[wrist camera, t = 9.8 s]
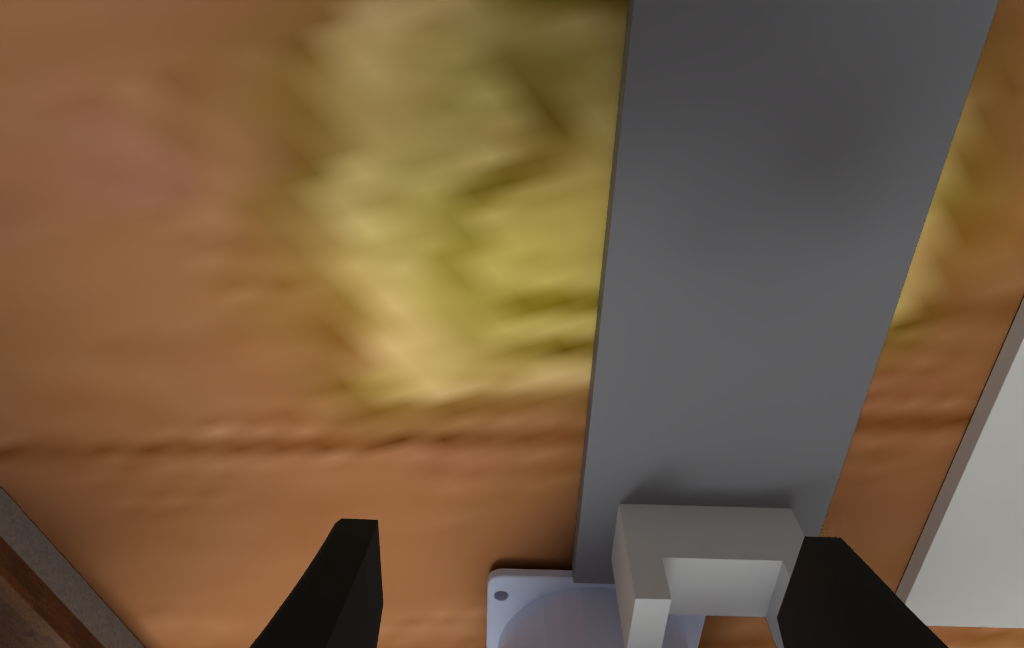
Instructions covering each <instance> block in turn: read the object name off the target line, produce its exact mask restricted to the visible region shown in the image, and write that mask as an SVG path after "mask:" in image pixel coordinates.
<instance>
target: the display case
mask: <svg viewBox="0 0 1024 648" xmlns="http://www.w3.org/2000/svg"><path fill="white" fill-rule="evenodd" d="M0 648H145V647H144V646H143V645H142V644H141V643H140V642H139V641H138V640H137V638H136V637H135V636H134V635H133V634H132V633H131V632H130V631H129V629H128V628H127V627H126V626H125V625H124V624H123V623H122V622H121V621H120V619H119V618H118V617H117V616H116V615H115V614H114V613H113V612H112V610H111V609H110V608H109V607H108V606H107V605H106V604H105V603H104V601H103V600H102V599H101V598H100V597H99V596H98V595H97V594H96V593H95V591H94V590H93V589H92V588H91V587H90V586H89V585H88V584H87V582H86V581H85V580H84V579H83V578H82V577H81V576H80V575H79V574H78V572H77V571H76V570H75V569H74V568H73V567H72V566H71V565H70V563H69V562H68V561H67V560H66V559H65V558H64V557H63V556H62V555H61V553H60V552H59V551H58V550H57V549H56V548H55V547H54V546H53V544H52V543H51V542H50V541H49V540H48V539H47V538H46V537H45V535H44V534H43V533H42V532H41V531H40V530H39V529H38V528H37V527H36V525H35V524H34V523H33V522H32V521H31V520H30V519H29V518H28V516H27V515H26V514H25V513H24V512H23V511H22V510H21V509H20V508H19V506H18V505H17V504H16V503H15V502H14V501H13V500H12V499H11V497H10V496H9V495H8V494H7V493H6V492H5V491H4V490H3V489H2V488H0Z"/></svg>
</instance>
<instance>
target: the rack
mask: <svg viewBox="0 0 1024 648" xmlns="http://www.w3.org/2000/svg"><path fill="white" fill-rule="evenodd" d="M998 2H999V0H629V5H628V15H627V25H626V34H625V44H624V54H623V64H622V74H621V84H620V94H619V104H618V114H617V123H616V133H615V143H614V153H613V163H612V173H611V183H610V193H609V203H608V212H607V222H606V232H605V242H604V252H603V262H602V272H601V282H600V291H599V301H598V311H597V321H596V331H595V341H594V351H593V361H592V371H591V380H590V390H589V400H588V410H587V420H586V430H585V440H584V450H583V460H582V469H581V479H580V489H579V499H578V509H577V519H576V529H575V539H574V549H573V558H572V573H573V583H594V584H615V588H616V594H617V601H618V608H619V615H620V621H621V628H622V635H623V642H624V648H662V643H663V638H664V633H665V628H666V623H667V619H668V615H706V616H744V617H766V620H767V623H768V625H769V628H770V631H771V634H772V636H773V639H774V642H775V645H776V648H784V646H783V642H782V638H781V633H780V629H779V625H778V621H777V615H778V612H779V609H780V607H781V604H782V601H783V598H784V595H785V592H786V589H787V586H788V583H789V580H790V577H791V575H792V572H793V569H794V566H795V563H796V560H797V557H798V554H799V551H800V548H801V546H802V543H803V540H804V537H805V536H808V537H819V535H820V533H821V530H822V527H823V524H824V521H825V518H826V515H827V512H828V509H829V506H830V503H831V500H832V497H833V494H834V491H835V488H836V485H837V482H838V479H839V476H840V473H841V470H842V467H843V464H844V461H845V458H846V455H847V452H848V449H849V446H850V443H851V440H852V437H853V434H854V431H855V428H856V425H857V422H858V419H859V416H860V413H861V410H862V407H863V404H864V401H865V398H866V396H867V393H868V390H869V387H870V384H871V381H872V378H873V375H874V372H875V369H876V366H877V363H878V360H879V357H880V354H881V351H882V348H883V345H884V342H885V339H886V336H887V333H888V330H889V327H890V324H891V321H892V318H893V315H894V312H895V309H896V306H897V303H898V300H899V297H900V294H901V291H902V288H903V285H904V282H905V279H906V276H907V273H908V270H909V267H910V264H911V261H912V259H913V256H914V253H915V250H916V247H917V244H918V241H919V238H920V235H921V232H922V229H923V226H924V223H925V220H926V217H927V214H928V211H929V208H930V205H931V202H932V199H933V196H934V193H935V190H936V187H937V184H938V181H939V178H940V175H941V172H942V169H943V166H944V163H945V160H946V157H947V154H948V151H949V148H950V145H951V142H952V139H953V136H954V133H955V130H956V127H957V124H958V122H959V119H960V116H961V113H962V110H963V107H964V104H965V101H966V98H967V95H968V92H969V89H970V86H971V83H972V80H973V77H974V74H975V71H976V68H977V65H978V62H979V59H980V56H981V53H982V50H983V47H984V44H985V41H986V38H987V35H988V32H989V29H990V26H991V23H992V20H993V17H994V14H995V11H996V8H997V5H998Z"/></svg>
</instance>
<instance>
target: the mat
mask: <svg viewBox="0 0 1024 648" xmlns="http://www.w3.org/2000/svg"><path fill="white" fill-rule="evenodd" d="M896 595H897V596H898V597H899V598H900V599H901V601H902V602H903V603H904V604H905V605H906V606H907V607H908V608H909V609H910V610H911V611H912V612H913V613H914V614H915V615H916V616H917V617H918V618H919V619H920V620H921V621H922V622H923V623H924V624H925V625H926V626H959V627H997V628H1024V298H1023V301H1022V303H1021V305H1020V308H1019V310H1018V312H1017V314H1016V317H1015V319H1014V321H1013V324H1012V326H1011V328H1010V331H1009V333H1008V335H1007V338H1006V340H1005V342H1004V345H1003V347H1002V349H1001V351H1000V354H999V356H998V358H997V361H996V363H995V365H994V368H993V370H992V372H991V375H990V377H989V379H988V381H987V384H986V386H985V388H984V391H983V393H982V395H981V398H980V400H979V402H978V405H977V407H976V409H975V412H974V414H973V416H972V418H971V421H970V423H969V425H968V428H967V430H966V432H965V435H964V437H963V439H962V442H961V444H960V446H959V448H958V451H957V453H956V455H955V458H954V460H953V462H952V465H951V467H950V469H949V472H948V474H947V476H946V478H945V481H944V483H943V485H942V488H941V490H940V492H939V495H938V497H937V499H936V502H935V504H934V506H933V509H932V511H931V513H930V515H929V518H928V520H927V522H926V525H925V527H924V529H923V532H922V534H921V536H920V539H919V541H918V543H917V545H916V548H915V550H914V552H913V555H912V557H911V559H910V562H909V564H908V566H907V569H906V571H905V573H904V576H903V578H902V580H901V582H900V585H899V587H898V589H897V592H896Z"/></svg>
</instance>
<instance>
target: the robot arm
mask: <svg viewBox="0 0 1024 648" xmlns="http://www.w3.org/2000/svg"><path fill="white" fill-rule="evenodd" d="M499 591H504V592H499ZM382 608H383V591H382V576H381V561H380V545H379V530H378V520H366V519H340V520H339V521H338V522H336V523H335V525H334V526H333V528H332V530H331V532H330V533H329V535H328V537H327V538H326V540H325V542H324V543H323V545H322V547H321V548H320V550H319V551H318V553H317V555H316V556H315V558H314V559H313V561H312V562H311V564H310V565H309V567H308V568H307V570H306V571H305V573H304V574H303V576H302V577H301V579H300V580H299V582H298V583H297V585H296V586H295V587H294V589H293V590H292V592H291V593H290V594H289V596H288V597H287V599H286V600H285V601H284V603H283V604H282V605H281V607H280V608H279V610H278V611H277V612H276V614H275V615H274V616H273V618H272V619H271V621H270V622H269V623H268V625H267V626H266V627H265V629H264V630H263V631H262V633H261V634H260V635H259V636H258V638H257V639H256V640H255V641H254V643H253V644H252V645H251V646H250V648H377V642H378V636H379V629H380V622H381V615H382ZM705 617H706V615H668V619H667V623H666V628H665V633H664V638H663V643H662V648H698V646H699V642H700V637H701V633H702V629H703V625H704V621H705ZM777 621H778V625H779V629H780V633H781V638H782V642H783V646H784V648H948V647H947V646H946V645H945V644H944V643H943V642H942V641H941V640H940V639H939V638H938V637H937V636H936V635H935V634H934V633H933V632H932V631H931V630H930V629H929V628H928V627H927V626H926V625H925V624H924V623H923V622H922V621H921V620H920V619H919V618H918V617H917V616H916V615H915V614H914V613H913V612H912V611H911V610H910V609H909V608H908V607H907V606H906V605H905V604H904V603H903V602H902V601H901V599H900V598H899V597H898V596H897V595H896V594H895V593H894V592H893V591H892V590H891V589H890V588H889V587H888V586H887V585H886V584H885V583H884V582H883V581H882V580H881V579H880V578H879V577H878V576H877V575H876V574H875V573H874V572H873V570H872V569H871V568H870V567H869V566H868V565H867V564H866V563H865V562H864V561H863V560H862V559H861V558H860V557H859V556H858V555H857V554H856V553H855V552H854V551H853V550H852V549H851V548H850V547H849V546H848V545H847V544H846V543H845V542H844V541H843V540H842V539H841V538H834V537H808V536H805V537H804V540H803V543H802V546H801V548H800V551H799V554H798V557H797V560H796V563H795V566H794V569H793V572H792V575H791V577H790V580H789V583H788V586H787V589H786V592H785V595H784V598H783V601H782V604H781V607H780V609H779V612H778V615H777ZM486 648H624V642H623V635H622V628H621V621H620V615H619V608H618V601H617V594H616V588H615V584H594V583H573V573H572V570H541V569H504V568H502V569H496V570H494V571H492V572H491V573H490V574H489V576H488V589H487V644H486Z"/></svg>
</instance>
